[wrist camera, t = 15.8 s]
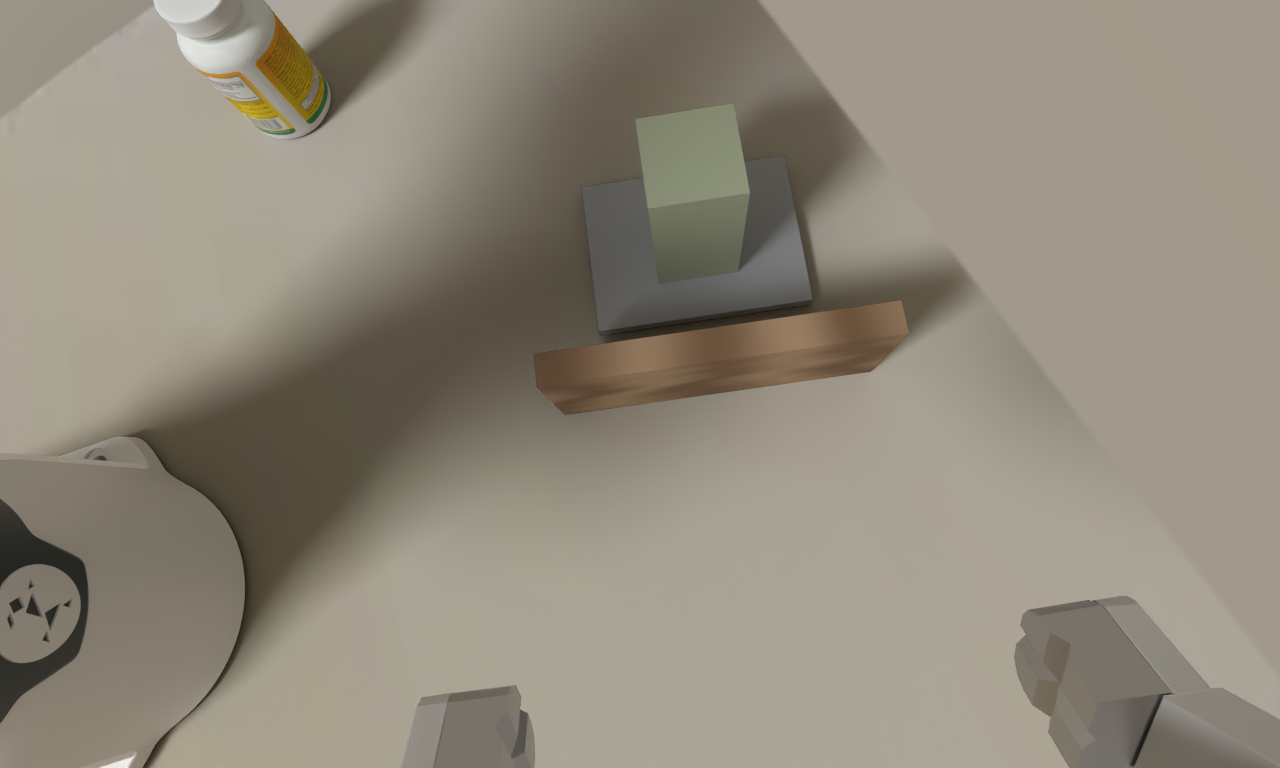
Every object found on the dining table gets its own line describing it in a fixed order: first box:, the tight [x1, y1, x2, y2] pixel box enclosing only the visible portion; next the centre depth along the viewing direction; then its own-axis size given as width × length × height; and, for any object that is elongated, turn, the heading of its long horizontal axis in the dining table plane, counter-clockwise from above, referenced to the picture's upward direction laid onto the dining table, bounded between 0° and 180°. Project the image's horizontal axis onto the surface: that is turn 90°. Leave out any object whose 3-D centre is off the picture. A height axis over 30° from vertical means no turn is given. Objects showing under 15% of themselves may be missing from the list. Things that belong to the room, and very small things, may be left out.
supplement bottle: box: [154, 0, 331, 139], centre depth 40 cm, size 5×5×10 cm
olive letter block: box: [635, 103, 750, 284], centre depth 35 cm, size 4×5×9 cm
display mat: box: [582, 155, 813, 335], centre depth 40 cm, size 12×9×1 cm
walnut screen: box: [534, 300, 909, 415], centre depth 35 cm, size 17×2×7 cm, turn 97°
